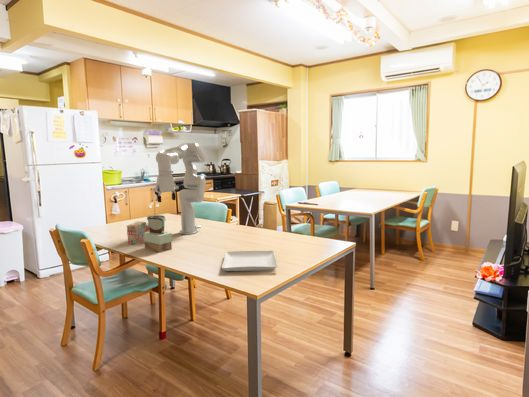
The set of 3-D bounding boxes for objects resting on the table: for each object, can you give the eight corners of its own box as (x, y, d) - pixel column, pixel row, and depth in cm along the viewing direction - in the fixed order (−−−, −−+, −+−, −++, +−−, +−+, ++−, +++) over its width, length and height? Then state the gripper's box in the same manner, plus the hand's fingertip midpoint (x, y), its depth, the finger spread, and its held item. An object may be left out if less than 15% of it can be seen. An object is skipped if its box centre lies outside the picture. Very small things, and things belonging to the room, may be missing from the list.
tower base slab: (158, 245, 213) (157, 237, 212) (171, 249, 203) (171, 241, 202) (144, 248, 206) (144, 240, 205) (158, 253, 196) (158, 244, 196)
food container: (170, 232, 205) (169, 215, 203) (163, 234, 199) (163, 217, 198) (154, 230, 210) (153, 214, 208) (147, 232, 204) (146, 216, 203)
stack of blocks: (146, 236, 236) (145, 218, 234) (154, 236, 235) (153, 219, 233) (127, 244, 215) (126, 225, 213) (136, 244, 214) (135, 225, 212)
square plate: (274, 256, 189) (274, 249, 189) (277, 273, 162) (277, 265, 162) (225, 257, 188) (225, 250, 188) (221, 274, 161) (221, 266, 161)
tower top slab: (156, 237, 212) (155, 230, 211) (172, 241, 203) (171, 233, 203) (143, 240, 204) (143, 232, 204) (159, 244, 196) (159, 236, 195)
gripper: (174, 172, 215) (176, 198, 218) (148, 174, 203) (150, 202, 206) (180, 172, 210) (182, 199, 213) (154, 175, 198) (156, 203, 201)
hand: (166, 200), depth 210 cm, fingers open, 9 cm apart
